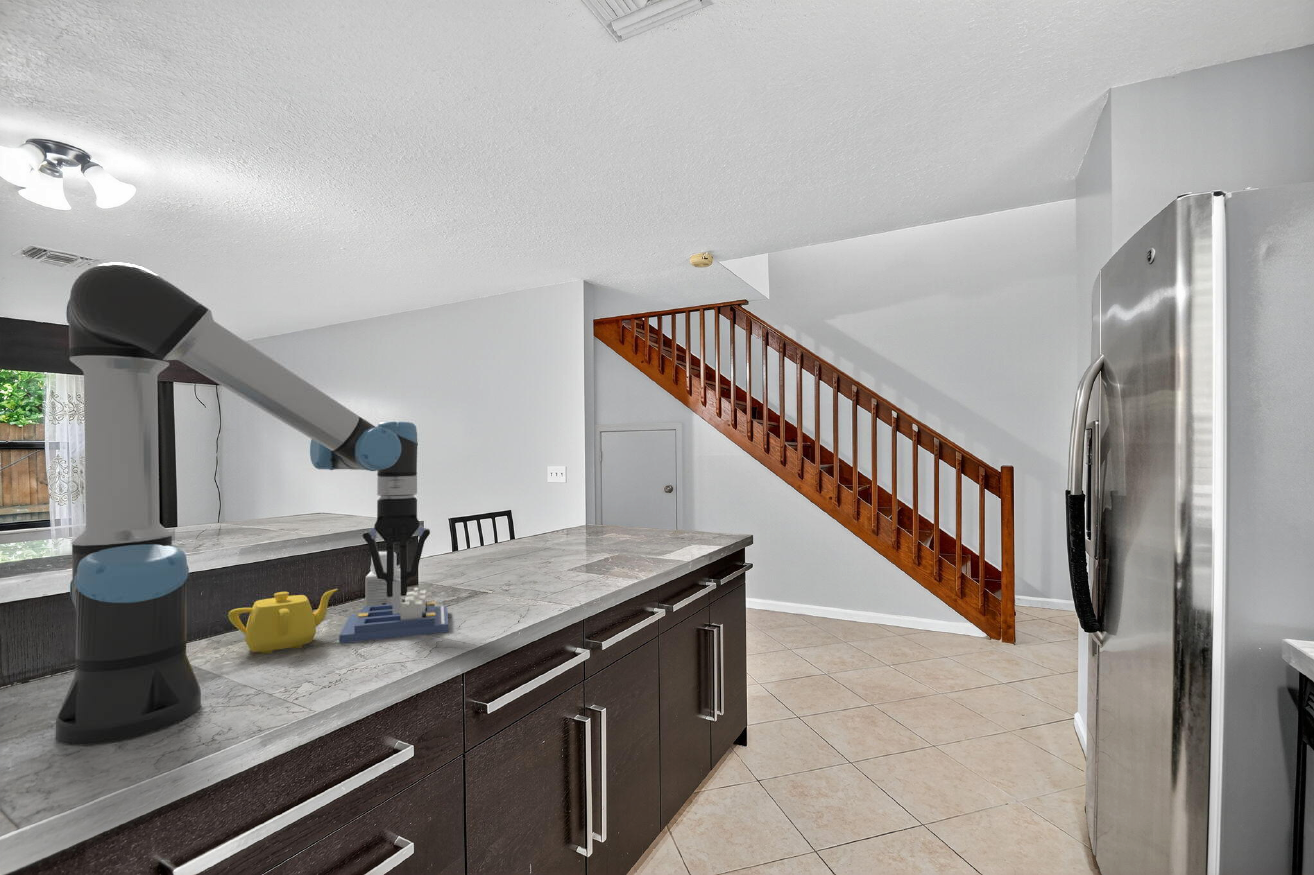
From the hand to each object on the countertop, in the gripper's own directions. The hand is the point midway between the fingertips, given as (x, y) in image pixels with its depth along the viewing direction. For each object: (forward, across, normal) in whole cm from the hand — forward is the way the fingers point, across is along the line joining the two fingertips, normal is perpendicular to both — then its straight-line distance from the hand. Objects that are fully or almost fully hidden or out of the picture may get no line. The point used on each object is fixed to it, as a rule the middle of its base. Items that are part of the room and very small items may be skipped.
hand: (396, 612), depth 122 cm
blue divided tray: (+4, 0, +5) cm, 7 cm away
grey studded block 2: (+2, +3, 0) cm, 4 cm away
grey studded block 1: (+2, +3, +10) cm, 11 cm away
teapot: (+5, -20, 0) cm, 20 cm away
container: (+5, -4, +27) cm, 28 cm away
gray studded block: (+2, +3, +5) cm, 7 cm away
